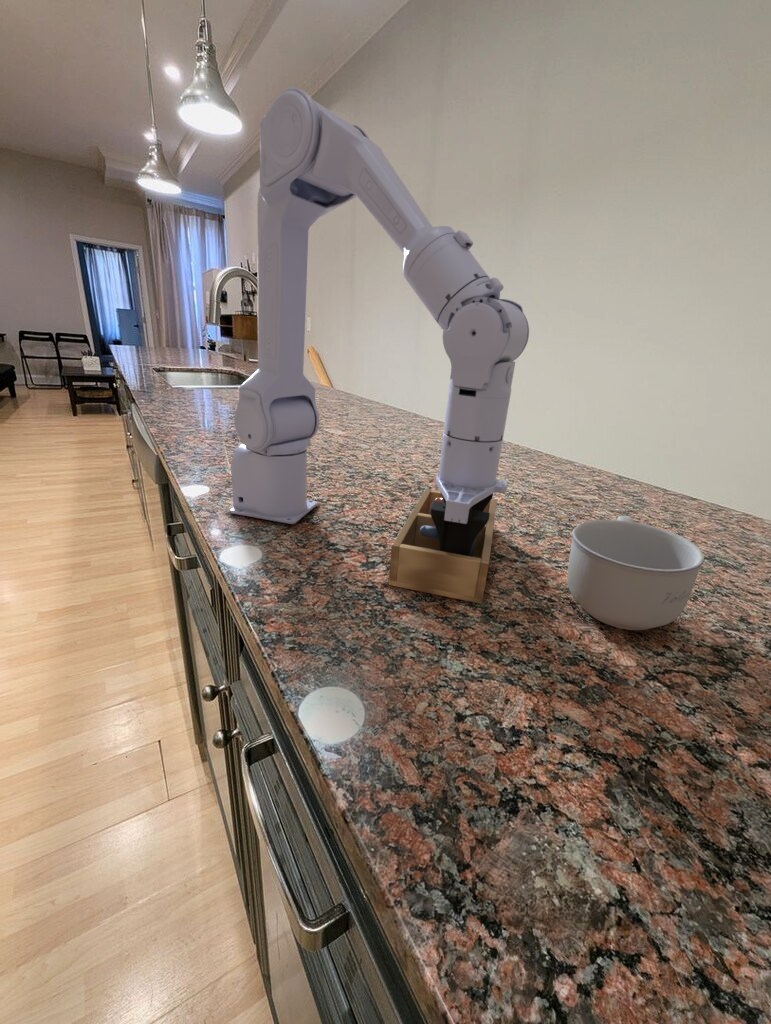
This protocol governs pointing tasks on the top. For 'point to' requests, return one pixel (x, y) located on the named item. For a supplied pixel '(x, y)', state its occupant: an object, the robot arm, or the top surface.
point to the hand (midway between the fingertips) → (455, 558)
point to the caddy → (439, 557)
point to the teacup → (631, 572)
